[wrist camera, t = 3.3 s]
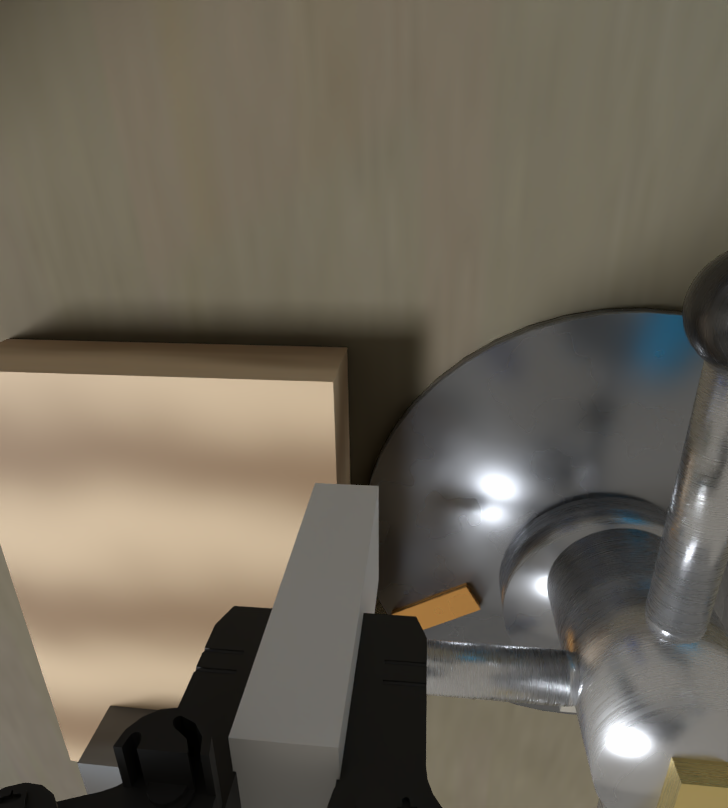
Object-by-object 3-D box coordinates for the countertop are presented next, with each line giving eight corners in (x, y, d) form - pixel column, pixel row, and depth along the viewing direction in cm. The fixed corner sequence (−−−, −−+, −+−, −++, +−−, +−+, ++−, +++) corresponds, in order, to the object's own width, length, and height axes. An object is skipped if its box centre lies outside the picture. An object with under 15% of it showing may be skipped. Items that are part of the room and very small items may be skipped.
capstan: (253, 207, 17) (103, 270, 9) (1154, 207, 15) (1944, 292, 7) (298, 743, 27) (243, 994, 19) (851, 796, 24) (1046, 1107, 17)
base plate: (361, 303, 19) (358, 310, 18) (947, 313, 17) (970, 321, 16) (366, 684, 26) (364, 701, 25) (782, 719, 24) (793, 738, 24)
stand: (7, 338, 21) (-124, 402, 16) (347, 347, 20) (318, 418, 15) (105, 700, 28) (37, 818, 23) (356, 723, 27) (338, 852, 22)
